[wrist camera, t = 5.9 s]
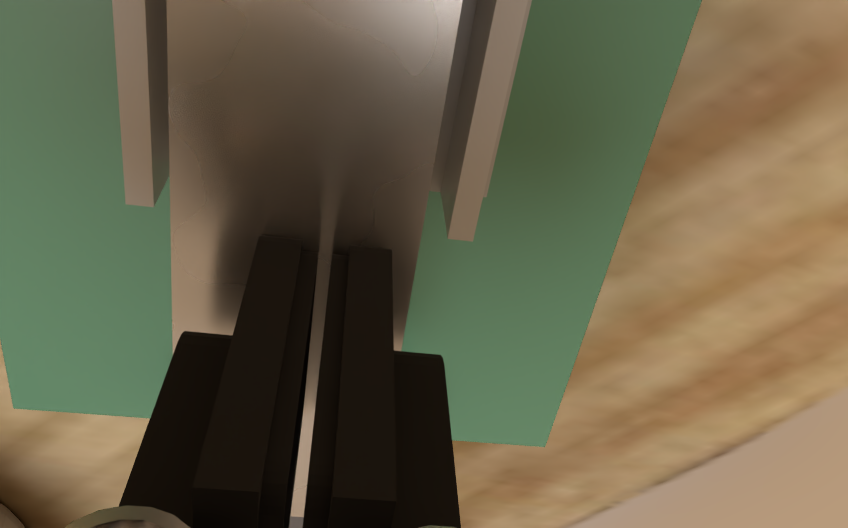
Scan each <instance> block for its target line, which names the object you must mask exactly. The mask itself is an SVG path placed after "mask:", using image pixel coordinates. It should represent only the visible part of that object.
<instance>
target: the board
mask: <svg viewBox="0 0 848 528" xmlns="http://www.w3.org/2000/svg"><path fill="white" fill-rule="evenodd" d="M701 2H702V0H463V2H462V7H461V13H460V19H459V25H458V30H457V36H456V42H455V47H454V53H453V59H452V64H451V70H450V76H449V82H448V87H447V93H446V99H445V104H444V110H443V116H442V121H441V127H440V133H439V138H438V144H437V150H436V156H435V161H434V167H433V173H432V178H431V184H430V190H429V195H428V201H427V207H426V213H425V218H424V224H423V230H422V235H421V241H420V247H419V252H418V258H417V264H416V269H415V275H414V281H413V287H412V292H411V298H410V304H409V309H408V315H407V321H406V326H405V332H404V338H403V344H402V349H401V351H405V352H416V353H426V354H437V355H441V356H442V357H443V361H444V366H445V376H446V386H447V396H448V406H449V415H450V425H451V435H452V440H456V441H470V442H484V443H497V444H511V445H525V446H539V447H545V446H546V443H547V440H548V437H549V434H550V431H551V429H552V426H553V423H554V420H555V417H556V414H557V411H558V409H559V406H560V403H561V400H562V397H563V394H564V392H565V389H566V386H567V383H568V380H569V377H570V374H571V372H572V369H573V366H574V363H575V360H576V357H577V355H578V352H579V349H580V346H581V343H582V340H583V337H584V335H585V332H586V329H587V326H588V323H589V320H590V318H591V315H592V312H593V309H594V306H595V303H596V300H597V298H598V295H599V292H600V289H601V286H602V283H603V281H604V278H605V275H606V272H607V269H608V266H609V263H610V261H611V258H612V255H613V252H614V249H615V246H616V243H617V241H618V238H619V235H620V232H621V229H622V226H623V224H624V221H625V218H626V215H627V212H628V209H629V206H630V204H631V201H632V198H633V195H634V192H635V189H636V187H637V184H638V181H639V178H640V175H641V172H642V169H643V167H644V164H645V161H646V158H647V155H648V152H649V150H650V147H651V144H652V141H653V138H654V135H655V132H656V130H657V127H658V124H659V121H660V118H661V115H662V113H663V110H664V107H665V104H666V101H667V98H668V95H669V93H670V90H671V87H672V84H673V81H674V78H675V76H676V73H677V70H678V67H679V64H680V61H681V58H682V56H683V53H684V50H685V47H686V44H687V41H688V39H689V36H690V33H691V30H692V27H693V24H694V21H695V19H696V16H697V13H698V10H699V7H700V4H701ZM0 340H1V345H2V350H3V356H4V361H5V366H6V371H7V376H8V382H9V387H10V392H11V397H12V403H13V408H14V409H28V410H42V411H56V412H70V413H83V414H97V415H111V416H125V417H139V418H151V415H152V412H153V409H154V407H155V404H156V401H157V398H158V395H159V393H160V390H161V387H162V384H163V381H164V379H165V376H166V373H167V370H168V367H169V365H170V362H171V359H172V356H173V344H172V286H171V229H170V171H169V113H168V56H167V0H0ZM303 518H304V517H293V516H290V524H289V528H302V527H303Z"/></svg>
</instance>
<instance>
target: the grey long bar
mask: <svg viewBox="0 0 848 528" xmlns="http://www.w3.org/2000/svg"><path fill="white" fill-rule="evenodd" d="M462 2H463V0H167V56H168V113H169V171H170V229H171V286H172V344H173V353H174V351H175V348H176V345H177V342H178V340H179V338H180V336H181V334H182V333H183V332H184V331H191V332H201V333H212V334H223V335H233V332H234V328H235V325H236V321H237V317H238V313H239V309H240V306H241V302H242V298H243V294H244V291H245V287H246V283H247V279H248V276H249V272H250V268H251V264H252V261H253V257H254V253H255V249H256V245H257V242H258V238H259V236H260V235H265V236H274V237H284V238H293V239H302V240H303V251H308V252H317V253H319V254H318V265H317V276H316V286H315V296H314V306H313V317H312V327H311V337H310V347H309V358H308V368H307V378H306V389H305V399H304V409H303V418H302V427H301V435H300V443H299V452H298V460H297V468H296V476H295V484H294V492H293V500H292V508H291V516H293V517H304V508H305V499H306V490H307V480H308V471H309V462H310V452H311V443H312V433H313V424H314V415H315V406H316V396H317V387H318V378H319V369H320V360H321V350H322V341H323V332H324V323H325V314H326V304H327V295H328V286H329V277H330V267H331V258H332V254H336V255H345V256H348V253H349V246H350V245H357V246H366V247H375V248H384V249H391V250H392V277H393V336H394V351H401V349H402V344H403V338H404V332H405V326H406V321H407V315H408V309H409V304H410V298H411V292H412V287H413V281H414V275H415V269H416V264H417V258H418V252H419V247H420V241H421V235H422V230H423V224H424V218H425V213H426V207H427V201H428V195H429V190H430V184H431V178H432V173H433V167H434V161H435V156H436V150H437V144H438V138H439V133H440V127H441V121H442V116H443V110H444V104H445V99H446V93H447V87H448V82H449V76H450V70H451V64H452V59H453V53H454V47H455V42H456V36H457V30H458V25H459V19H460V13H461V7H462Z"/></svg>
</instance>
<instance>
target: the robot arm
mask: <svg viewBox="0 0 848 528" xmlns="http://www.w3.org/2000/svg"><path fill="white" fill-rule="evenodd" d="M318 254H319V253H317V252H308V251H303V240H302V239H293V238H284V237H274V236H265V235H260V236H259V238H258V242H257V245H256V249H255V253H254V257H253V261H252V264H251V268H250V272H249V276H248V279H247V283H246V287H245V291H244V294H243V298H242V302H241V306H240V309H239V313H238V317H237V321H236V325H235V328H234V332H233V335H223V334H212V333H201V332H191V331H184V332H183V333H182V334H181V336H180V338H179V340H178V342H177V345H176V348H175V351H174V353H173V356H172V359H171V362H170V365H169V367H168V370H167V373H166V376H165V379H164V381H163V384H162V387H161V390H160V393H159V395H158V398H157V401H156V404H155V407H154V409H153V412H152V415H151V418H150V421H149V423H148V426H147V429H146V432H145V434H144V437H143V440H142V443H141V446H140V448H139V451H138V454H137V457H136V460H135V462H134V465H133V468H132V471H131V474H130V476H129V479H128V482H127V485H126V488H125V490H124V493H123V496H122V499H121V502H120V504H119V507H114V508H109V509H103V510H98V511H96V512H94V513H91V514H89V515H87V516H84V517H82V518H80V519H77V520H75V521H73V522H71V523H70V524H69V525H67V526H66V527H65V528H289V524H290V516H291V508H292V500H293V492H294V484H295V476H296V468H297V460H298V452H299V443H300V435H301V427H302V418H303V409H304V399H305V389H306V378H307V368H308V358H309V347H310V337H311V327H312V317H313V306H314V296H315V286H316V276H317V265H318ZM302 528H461V524H460V514H459V504H458V495H457V485H456V475H455V465H454V455H453V445H452V435H451V425H450V415H449V406H448V396H447V386H446V376H445V366H444V361H443V357H442V356H441V355H437V354H426V353H416V352H405V351H394V336H393V277H392V250H391V249H384V248H375V247H366V246H357V245H350V246H349V253H348V256H345V255H336V254H332V258H331V267H330V277H329V286H328V295H327V304H326V314H325V323H324V332H323V341H322V350H321V360H320V369H319V378H318V387H317V396H316V406H315V415H314V424H313V433H312V443H311V452H310V462H309V471H308V480H307V490H306V499H305V508H304V518H303V527H302Z"/></svg>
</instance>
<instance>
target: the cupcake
mask: <svg viewBox="0 0 848 528" xmlns="http://www.w3.org/2000/svg"><path fill="white" fill-rule="evenodd" d="M0 528H25V527H24V525H23V524H22V523H21V522H20V521H19V520H18V518H17V517H16V516H15V515H14V514H13V513H12V512H11V511H10V510H9V509H8V508H7V507H5V506H4V505H2V504H1V503H0Z"/></svg>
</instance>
